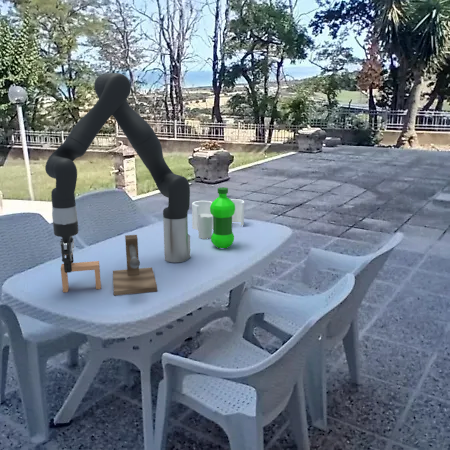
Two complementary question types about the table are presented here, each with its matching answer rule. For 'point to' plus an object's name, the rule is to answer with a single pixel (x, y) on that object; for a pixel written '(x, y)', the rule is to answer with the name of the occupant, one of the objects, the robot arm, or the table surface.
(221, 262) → the table surface
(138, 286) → the hook stand
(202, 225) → the drinking glass
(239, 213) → the white caddy
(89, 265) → the wooden staple shape
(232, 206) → the plastic bottle
